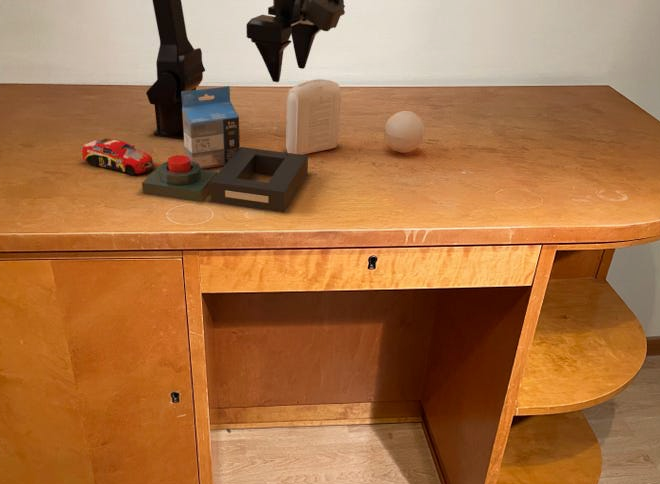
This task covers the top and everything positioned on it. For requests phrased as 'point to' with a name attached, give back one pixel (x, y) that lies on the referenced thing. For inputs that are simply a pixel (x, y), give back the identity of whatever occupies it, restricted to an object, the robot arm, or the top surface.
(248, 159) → the dark grey rectangular frame
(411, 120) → the seamed sphere
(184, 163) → the button
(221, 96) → the tape cartridge
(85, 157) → the race car
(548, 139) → the top surface
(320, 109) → the cream rounded slab
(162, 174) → the button box
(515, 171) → the top surface
